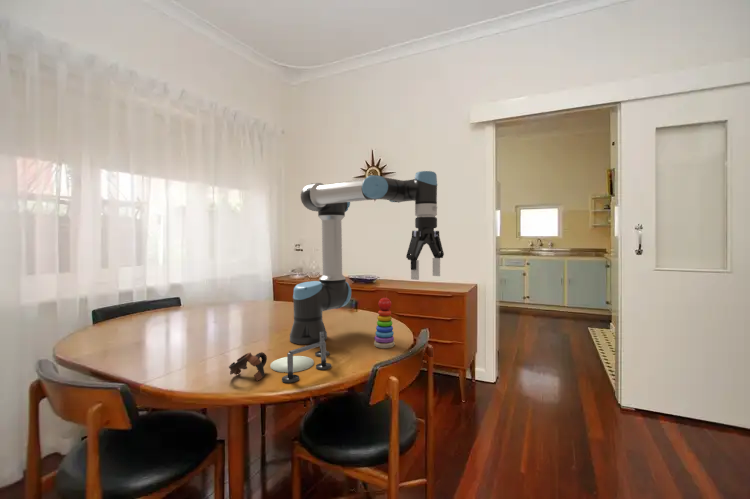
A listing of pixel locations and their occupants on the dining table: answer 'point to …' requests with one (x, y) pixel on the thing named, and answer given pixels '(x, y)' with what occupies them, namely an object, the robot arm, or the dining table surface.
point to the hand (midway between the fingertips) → (426, 277)
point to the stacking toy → (384, 325)
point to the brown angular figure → (252, 360)
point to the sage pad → (298, 364)
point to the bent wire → (322, 353)
